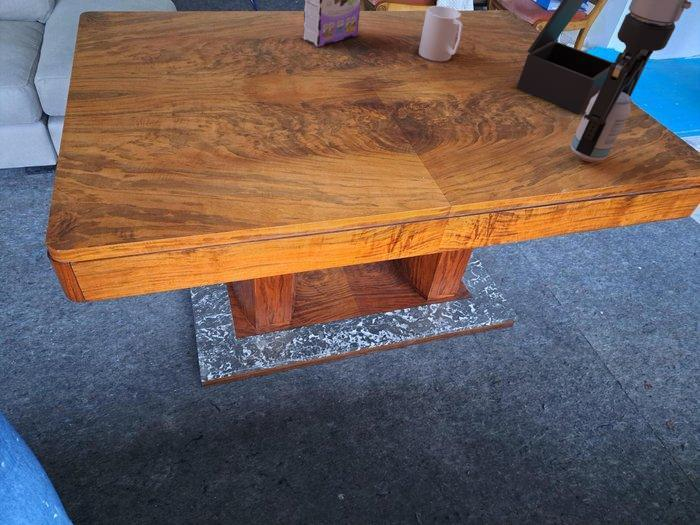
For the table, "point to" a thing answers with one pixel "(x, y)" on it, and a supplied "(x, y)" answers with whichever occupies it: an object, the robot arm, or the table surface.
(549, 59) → the dark piece
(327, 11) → the candy box
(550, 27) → the lid
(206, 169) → the table surface
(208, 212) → the table surface
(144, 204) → the table surface
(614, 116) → the beverage can
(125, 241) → the table surface
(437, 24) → the cup
